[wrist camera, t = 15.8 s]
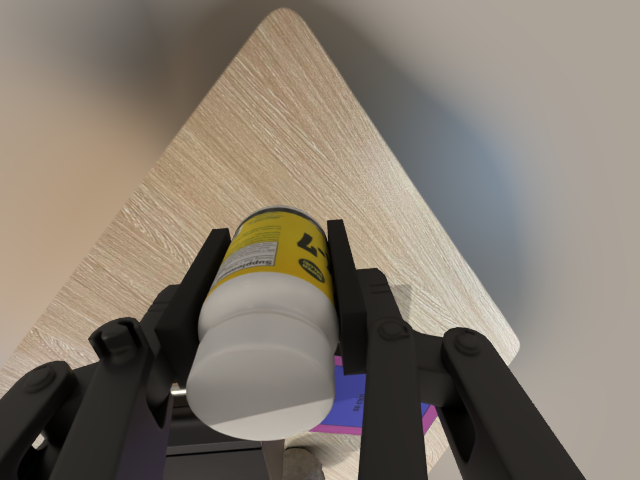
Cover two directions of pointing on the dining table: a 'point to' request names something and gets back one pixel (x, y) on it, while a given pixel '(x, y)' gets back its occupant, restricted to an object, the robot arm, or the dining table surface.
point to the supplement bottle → (268, 331)
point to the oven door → (197, 431)
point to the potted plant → (301, 465)
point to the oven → (228, 464)
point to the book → (355, 404)
